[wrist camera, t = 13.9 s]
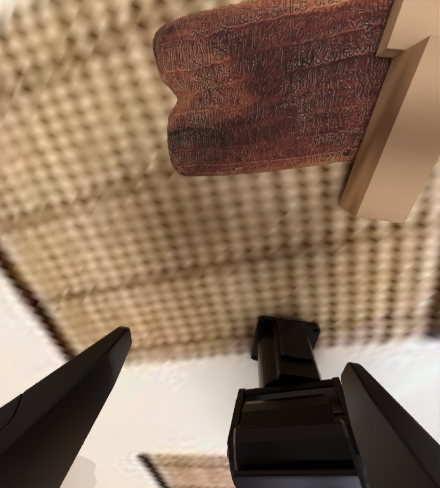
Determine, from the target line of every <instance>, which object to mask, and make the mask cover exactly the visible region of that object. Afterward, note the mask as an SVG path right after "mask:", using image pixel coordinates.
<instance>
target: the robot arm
mask: <svg viewBox="0 0 440 488" xmlns="http://www.w3.org/2000/svg"><path fill="white" fill-rule="evenodd" d="M261 321H263V322H261ZM319 333H320V328H319V326H318V325H317V324H311V323H305V322H298V321H291V320H284V319H277V318H270V317H263V316H261V317H259V318H258V320H257V325H256V330H255V335H254V340H253V346H252V351H251V359H253V360H256V361H258V371H259V388H254V389H245V388H244V389H239V391H238V396H237V399H236V403H235V408H234V413H233V417H232V422H231V427H230V431H229V436H228V441H227V445H228V449H227V457H228V459H229V464H230V471H231V476H232V480H233V483H234V485H235V487H236V488H440V445H439V444H438V443H437V442H436V441H435V440H434V439H433V438H432V436H431V435H430V434H429V433H428V432H427V431H426V430H425V429H424V428H423V427H422V426H421V425H420V424H419V423H418V422H417V421H416V420H415V419H414V418H413V417H412V416H411V415H410V414H409V413H408V412H407V411H406V410H405V409H404V408H403V407H402V406H401V405H400V404H399V403H398V402H397V401H396V400H395V399H394V398H393V397H392V396H391V395H390V394H389V393H388V392H387V391H386V390H385V389H384V388H383V387H382V386H381V385H380V384H379V383H378V382H377V381H376V380H375V379H374V378H373V377H372V376H371V375H370V374H369V373H368V372H367V371H366V370H365V369H364V368H363V367H362V366H361V365H360V364H358V363H352V362H349V363H347V364H346V366H345V368H344V370H343V372H342V375H341V382H340V380H339V377H333V378H332V379H328V380H322V379H321V375H320V372H319V369H318V366H317V362H316V359H315V356H314V352H313V349H314V347H315V344H316V341H317V339H318V336H319ZM131 344H132V339H131V332H130V329H129V328H128V327H122V326H121V327H118V328H116V329H115V330H114V331H112V332H111V333H109V334H108V335H106V336H105V337H103V338H102V339H100V340H99V341H98V342H96V343H95V344H93V345H92V346H90V347H89V348H87V349H86V350H84V351H83V352H81V353H80V354H79V355H77V356H76V357H74V358H73V359H71V360H70V361H68V362H67V363H65V364H64V365H62V366H61V367H60V368H58V369H57V370H55V371H54V372H52V373H51V374H49V375H48V376H46V377H45V378H44V379H42V380H41V381H39V382H38V383H36V384H35V385H33V386H32V387H30V388H29V389H27V390H26V391H25V392H24V393H23V394H20V395H19V396H17V397H16V398H14V399H13V400H11V401H10V402H8V403H7V404H5V405H4V406H2V407H1V408H0V488H60V486H61V484H62V482H63V480H64V478H65V477H66V475H67V473H68V471H69V469H70V467H71V465H72V464H73V462H74V460H75V458H76V456H77V454H78V452H79V450H80V449H81V447H82V445H83V443H84V441H85V439H86V437H87V436H88V434H89V432H90V430H91V428H92V426H93V424H94V422H95V421H96V419H97V417H98V415H99V413H100V411H101V409H102V407H103V406H104V404H105V402H106V400H107V398H108V396H109V394H110V392H111V391H112V389H113V387H114V385H115V383H116V380H117V378H118V376H119V373H120V371H121V369H122V366H123V364H124V361H125V359H126V357H127V354H128V352H129V350H130V347H131ZM341 383H342V384H341Z"/></svg>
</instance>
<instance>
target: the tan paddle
mask: <svg viewBox="0 0 440 488" xmlns="http://www.w3.org/2000/svg"><path fill="white" fill-rule="evenodd" d="M376 56H378V57H389V58H392V61H391V64H390V67H389V69H388V72H387V75H386V77H385V80H384V83H383V86H382V88H381V91H380V94H379V97H378V99H377V102H376V105H375V107H374V110H373V113H372V116H371V118H370V121H369V124H368V127H367V129H366V132H365V135H364V138H363V140H362V143H361V146H360V148H359V151H358V154H357V157H356V159H355V162H354V165H353V168H352V170H351V173H350V176H349V179H348V181H347V184H346V187H345V189H344V192H343V195H342V198H341V200H340V203H339V205H340V206H341V207H343V208H344V209H346V210H347V211H349V212H350V213H351V214H353V215H354V216H356V217H362V218H369V219H376V220H383V221H389V222H396V223H403V224H404V222H405V220H406V218H407V216H408V215H409V213H410V211H411V209H412V207H413V205H414V203H415V201H416V199H417V197H418V195H419V194H420V192H421V190H422V188H423V186H424V184H425V182H426V180H427V178H428V176H429V174H430V172H431V171H432V169H433V167H434V165H435V163H436V161H437V159H438V157H439V155H440V0H394V2H393V5H392V8H391V11H390V14H389V17H388V20H387V23H386V26H385V29H384V32H383V35H382V38H381V41H380V44H379V47H378V50H377V53H376Z"/></svg>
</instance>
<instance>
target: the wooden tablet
mask: <svg viewBox="0 0 440 488" xmlns="http://www.w3.org/2000/svg"><path fill="white" fill-rule="evenodd" d="M393 2H394V0H251V1H247V2H241V3H239V4H230V5H228V6H224V7H219V8H215V9H212V10H205V11H201V12H199V13H196V14H190V15H188V16H184V17H181V18H179V19H176V20H174V21H172V22H169V23H167V24H165V25H164V26H162V27H161V28H160V29H159V30H158V31H157V32H156V34H155V37H154V39H153V51H154V56H155V60H156V63H157V67H158V71H159V74H160V77H161V79H162V81H163V82H164V84H166V85H167V86H168V87H169V88H170V89H171V90H172V91H173V93H174V94H175V95H176V97H177V99H178V100H177V103H176V105H175V107H174V108H173V109H172V111H171V113H170V115H169V119H168V127H167V136H168V149H169V155H170V160H171V162H172V165H173V167H174V169H175V170H177V172H178V173H179V174H181V175H184V176H224V175H235V174H250V173H257V172H268V171H277V170H282V169H292V168H300V167H308V166H316V165H322V164H328V163H334V162H340V161H347V160H352V159H356V157H357V154H358V151H359V148H360V146H361V143H362V140H363V138H364V135H365V132H366V129H367V127H368V124H369V121H370V118H371V116H372V113H373V110H374V107H375V105H376V102H377V99H378V97H379V94H380V91H381V88H382V86H383V83H384V80H385V77H386V75H387V72H388V69H389V67H390V64H391V61H392V58H389V57H378V56H376V53H377V50H378V47H379V44H380V41H381V38H382V35H383V32H384V29H385V26H386V23H387V20H388V17H389V14H390V11H391V8H392V5H393Z"/></svg>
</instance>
